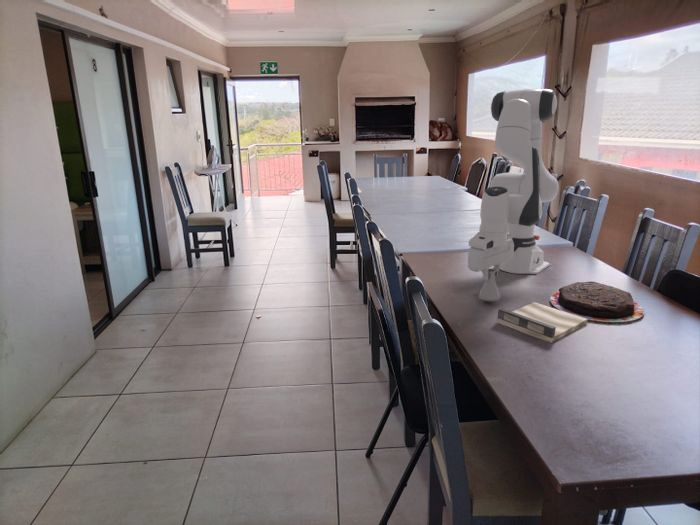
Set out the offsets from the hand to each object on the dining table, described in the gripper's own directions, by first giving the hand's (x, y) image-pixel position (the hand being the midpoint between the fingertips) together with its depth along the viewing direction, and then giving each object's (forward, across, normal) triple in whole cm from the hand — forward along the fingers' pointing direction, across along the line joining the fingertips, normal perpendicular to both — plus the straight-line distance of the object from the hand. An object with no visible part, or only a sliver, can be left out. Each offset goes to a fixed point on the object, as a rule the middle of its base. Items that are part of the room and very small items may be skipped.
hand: (490, 277), depth 160 cm
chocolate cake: (+10, -24, +24) cm, 36 cm away
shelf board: (+9, +1, +20) cm, 22 cm away
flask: (+8, 0, 0) cm, 8 cm away
